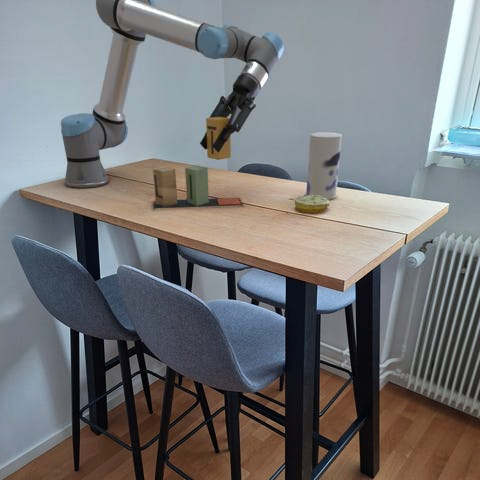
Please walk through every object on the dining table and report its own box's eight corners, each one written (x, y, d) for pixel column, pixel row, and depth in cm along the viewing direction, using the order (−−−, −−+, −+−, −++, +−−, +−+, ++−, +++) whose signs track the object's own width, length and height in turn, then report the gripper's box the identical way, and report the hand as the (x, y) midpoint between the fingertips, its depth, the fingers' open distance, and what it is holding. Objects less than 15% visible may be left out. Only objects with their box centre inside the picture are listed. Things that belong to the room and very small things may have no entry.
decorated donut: (335, 209, 147) (336, 197, 145) (315, 216, 140) (316, 204, 138) (307, 202, 153) (308, 190, 151) (287, 209, 146) (288, 197, 144)
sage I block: (186, 202, 151) (184, 167, 146) (198, 199, 154) (197, 165, 149) (196, 206, 148) (195, 170, 142) (208, 202, 151) (207, 167, 146)
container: (328, 202, 154) (335, 137, 144) (301, 197, 158) (305, 134, 148) (340, 195, 161) (346, 133, 151) (313, 191, 165) (318, 130, 155)
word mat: (153, 210, 146) (153, 207, 146) (154, 202, 154) (154, 199, 153) (242, 206, 149) (242, 204, 149) (239, 199, 157) (239, 196, 156)
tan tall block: (155, 203, 150) (152, 168, 144) (168, 200, 153) (165, 166, 148) (164, 207, 147) (161, 171, 141) (177, 203, 150) (175, 168, 144)
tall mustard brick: (207, 157, 141) (205, 118, 136) (219, 155, 145) (218, 116, 139) (218, 160, 138) (217, 119, 133) (230, 157, 141) (230, 118, 136)
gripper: (222, 72, 142) (182, 135, 140) (265, 74, 131) (222, 143, 129) (235, 90, 148) (197, 151, 146) (277, 94, 137) (236, 160, 135)
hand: (209, 147), depth 138 cm, fingers closed on tall mustard brick, 5 cm apart
